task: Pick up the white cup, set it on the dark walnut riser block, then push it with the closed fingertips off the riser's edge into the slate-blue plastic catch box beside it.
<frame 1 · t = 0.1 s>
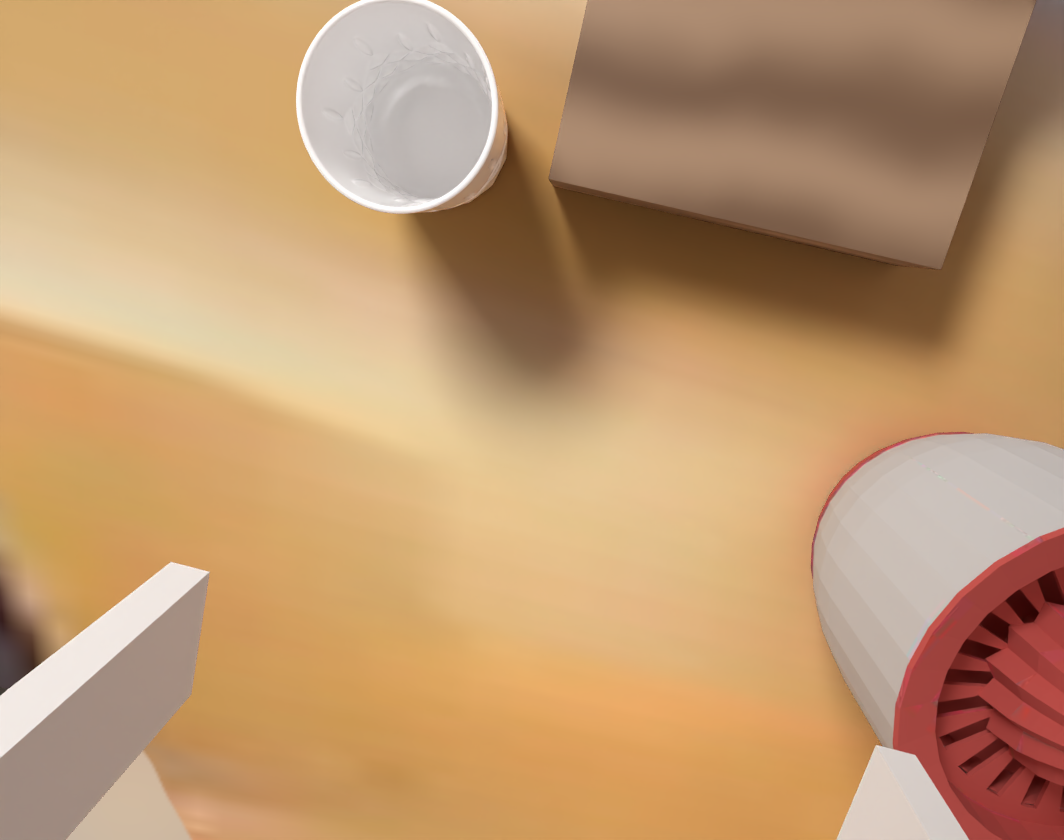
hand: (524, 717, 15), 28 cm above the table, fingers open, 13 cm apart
citrus juicer: (930, 523, 42), on the table
walnut riser: (758, 102, 37), on the table
white cup: (444, 140, 39), on the table
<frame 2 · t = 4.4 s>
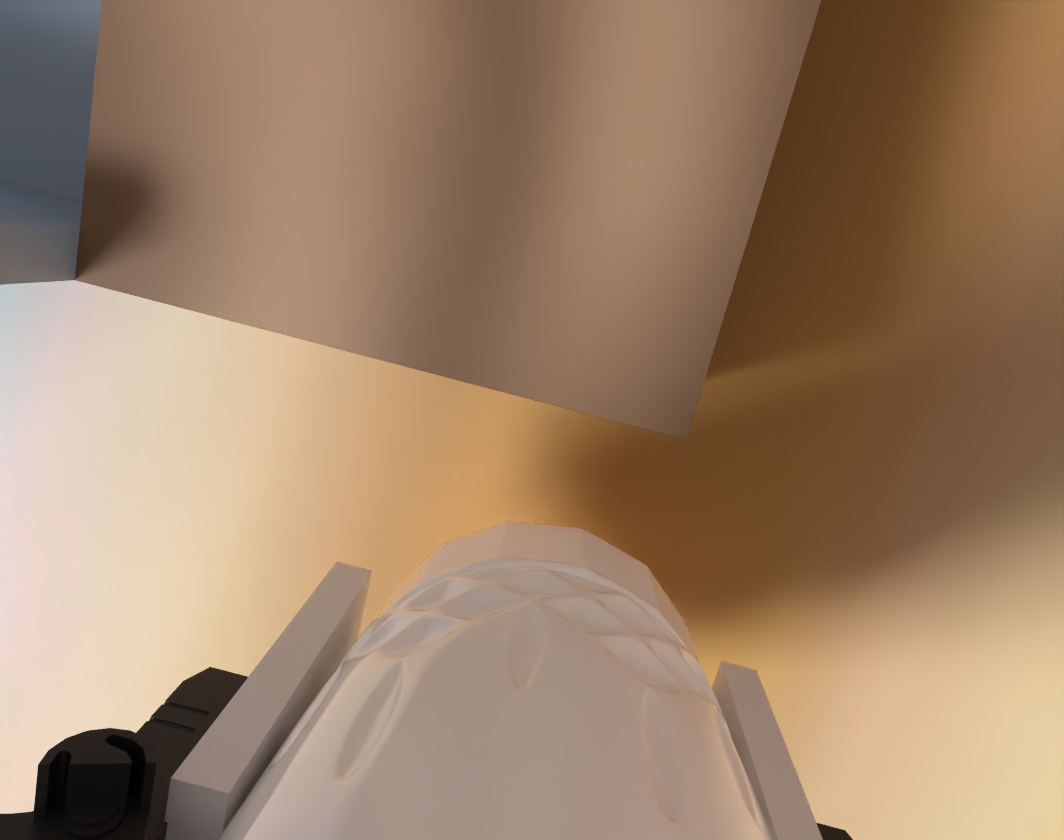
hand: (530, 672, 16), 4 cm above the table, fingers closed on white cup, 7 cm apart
white cup: (534, 659, 17), point 4 cm above the table, touching gripper
when the fingers open (6 cm above the table, at t = 8.8 s): white cup stays where it is, resting on walnut riser.
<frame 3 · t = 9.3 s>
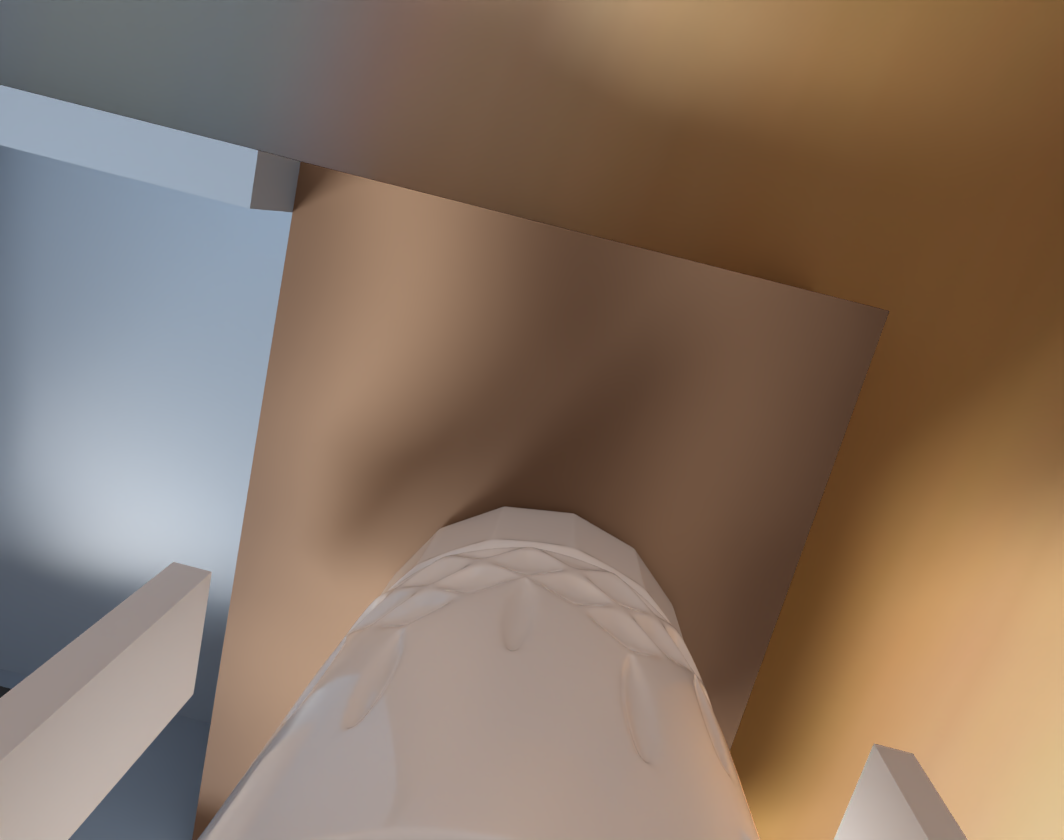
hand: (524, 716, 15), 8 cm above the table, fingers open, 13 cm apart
walnut riser: (512, 545, 22), on the table
white cup: (528, 639, 17), point 5 cm above the table, touching walnut riser
catch box: (81, 434, 22), on the table
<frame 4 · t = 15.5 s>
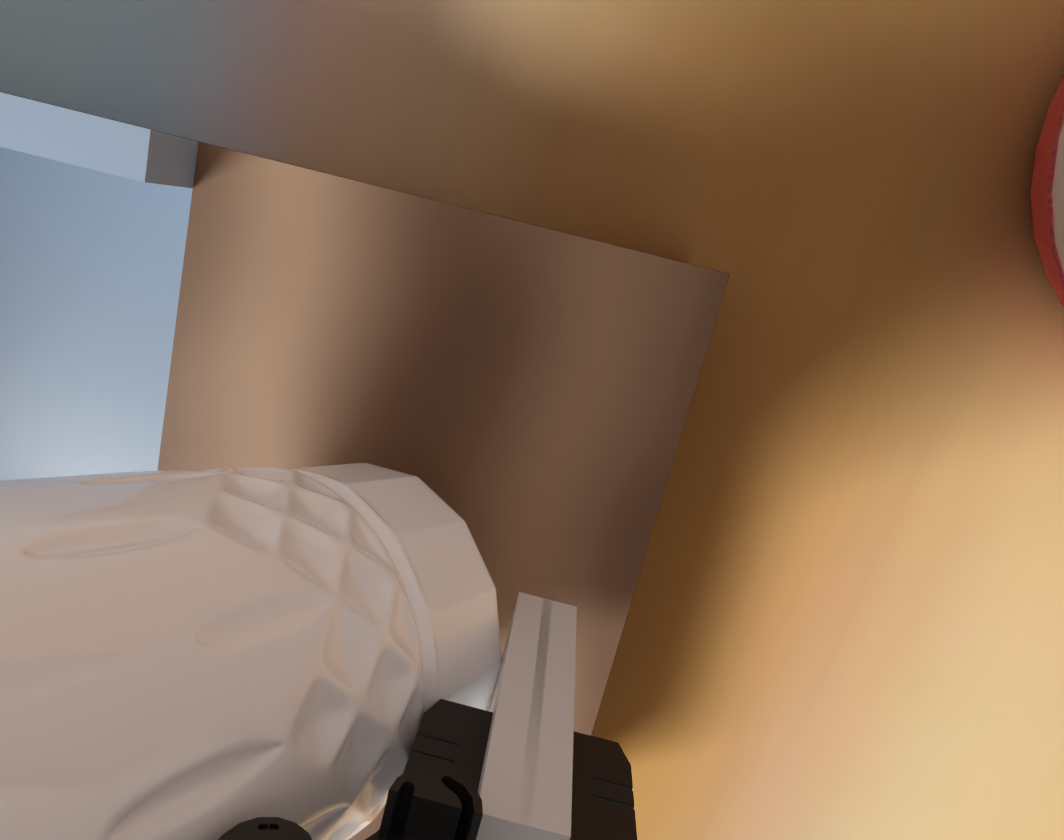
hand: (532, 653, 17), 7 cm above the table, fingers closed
walnut riser: (423, 504, 24), on the table
white cup: (390, 609, 17), point 7 cm above the table, touching gripper
catch box: (12, 406, 23), on the table
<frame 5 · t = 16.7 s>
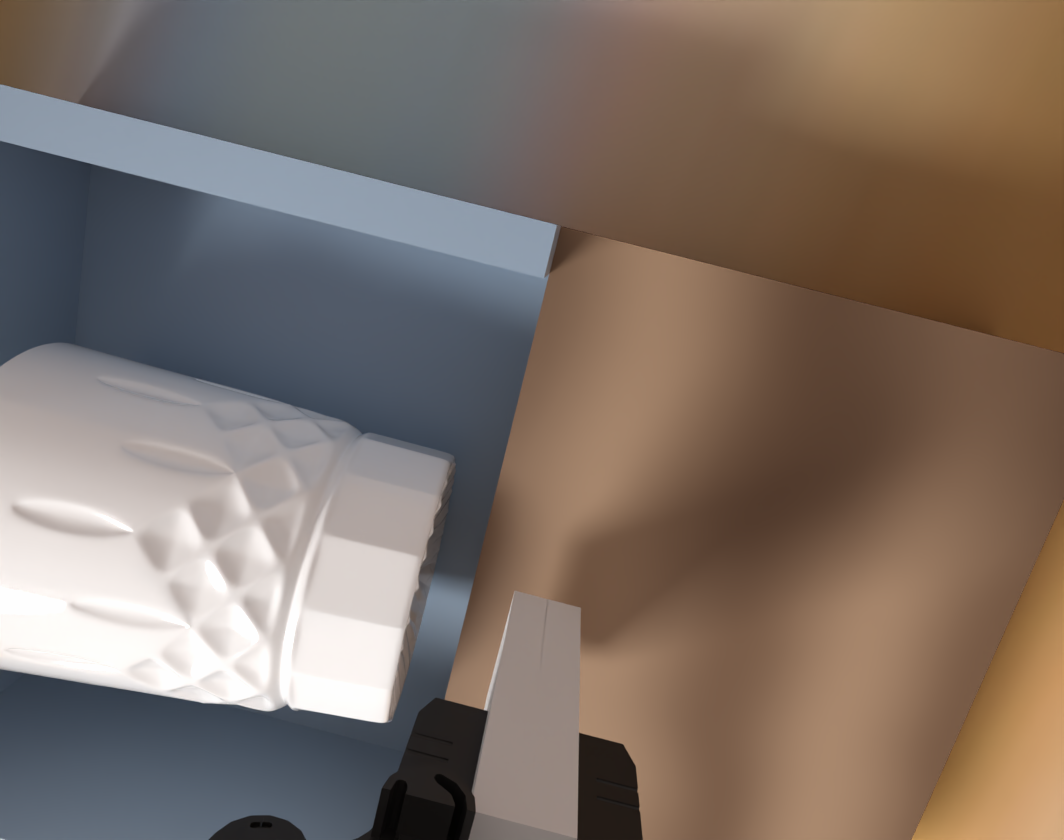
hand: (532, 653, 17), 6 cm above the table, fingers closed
walnut riser: (686, 576, 23), on the table
white cup: (434, 588, 19), point 4 cm above the table, touching catch box
catch box: (270, 469, 23), on the table
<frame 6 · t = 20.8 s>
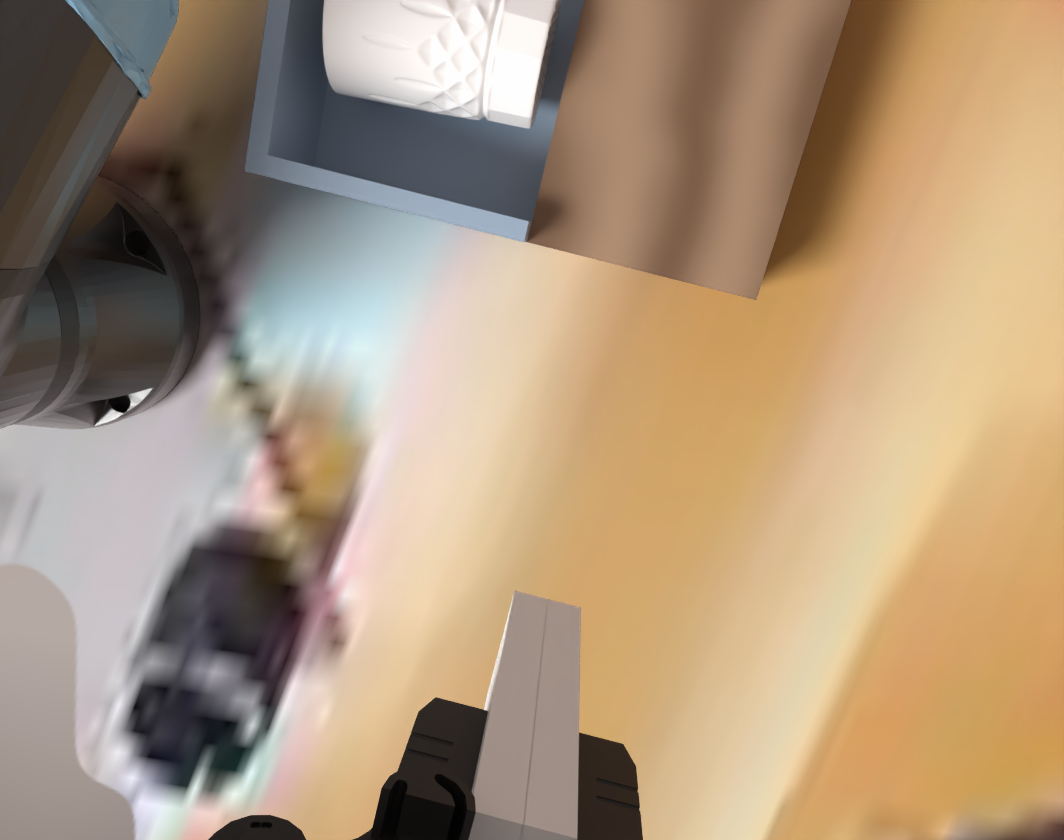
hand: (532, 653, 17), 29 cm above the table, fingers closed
walnut riser: (680, 103, 41), on the table
white cup: (551, 59, 37), point 4 cm above the table, touching catch box
catch box: (448, 44, 41), on the table
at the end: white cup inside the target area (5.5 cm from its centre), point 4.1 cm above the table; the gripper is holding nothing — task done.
